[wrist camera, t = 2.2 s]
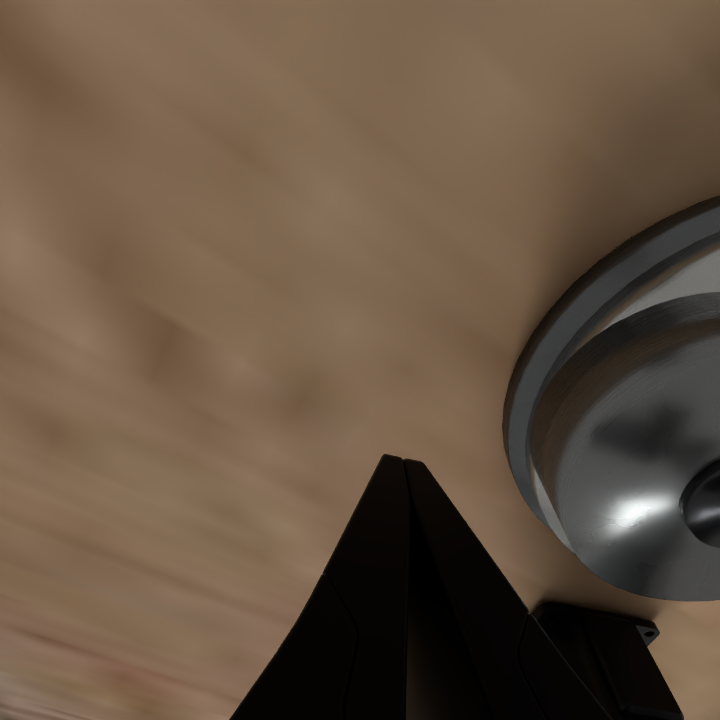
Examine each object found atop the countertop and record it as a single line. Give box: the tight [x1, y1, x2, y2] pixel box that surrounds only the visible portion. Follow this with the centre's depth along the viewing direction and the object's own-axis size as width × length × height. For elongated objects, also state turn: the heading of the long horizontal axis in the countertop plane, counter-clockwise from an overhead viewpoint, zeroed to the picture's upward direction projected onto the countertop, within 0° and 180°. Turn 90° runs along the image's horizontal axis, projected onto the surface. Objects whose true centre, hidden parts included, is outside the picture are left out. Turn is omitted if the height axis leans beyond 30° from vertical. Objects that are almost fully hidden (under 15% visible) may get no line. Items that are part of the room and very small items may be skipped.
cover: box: [529, 292, 720, 601], centre depth 12 cm, size 9×9×3 cm
